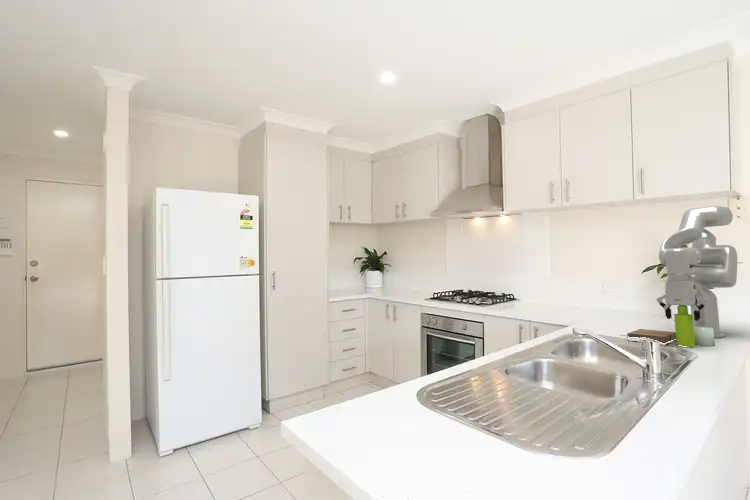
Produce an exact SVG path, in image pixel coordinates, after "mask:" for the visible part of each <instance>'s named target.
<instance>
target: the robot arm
mask: <svg viewBox="0 0 750 500" xmlns="http://www.w3.org/2000/svg"><path fill="white" fill-rule="evenodd" d="M733 216H734V215H733V212H732V210H731V209H730V208H729V207H727V206H722V205H710V206H701V207H695V208H690V209H688V210H686V211H684V213H683V215H682V218H681V221H680V225H679V227H678V230H676V231H675V232H674V233H672V234H670V236H668V237H666V239H664V240H663V241H662V243H661V245H660V249H659V253H658V259H659V262H660V264H661V265H663V266H666V273H667V281H666V282H665V289H664V295H662V296H660V297H657V298H656V301H657V302H658V304H659V306H660V307H662V308H663V310H664V312H665V317H666V319H668V320H670V319H672V309H671V307H672V306H679V305H685V306H690V314H691V315H692V317H693V327H694V326H702V327H711V328H713V331H714V339H716V338H718V339H720V338H725V337H726V333H724V332H722V331H721V327H720V319H719V317H720V316H719V308H718V307H719V306H718V298H717V295H716V294H715V293H714V292H713V291H712V290H711V288H716V289H717V288H719V289H720V288H726V289H727V288H728V289H729V288H733V287H734V286H736V284H737V279H738V251H737V250H736V248H735V247H734V246H732V245H730V244H720V245H719V244H718V245H716V244H717V237H716V236H715V235H714V234H713V233H712V232H711V231H710V230H708V229H706V228H712V227H722V226H728V225H730V224H731V223H732V221H733V218H734V217H733ZM691 243H692V245H691V247H688V246H687V247H684V246H686V245H689V244H691ZM693 265H694V266H693ZM691 266H693V267H691ZM664 299H665V300H664ZM674 299H681V301H674ZM663 301H665V302H663Z"/></svg>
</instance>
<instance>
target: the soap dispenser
mask: <svg viewBox="0 0 750 500" xmlns="http://www.w3.org/2000/svg"><path fill="white" fill-rule="evenodd" d="M674 301H681V299H674ZM676 309H677V313H674V316H673V317H674V327H675V332H676V345H677V344H678V345H682V346H687V347H694V348H695V347H696V345H695V340H694V329H693V317H692V315H691V313H689V307H688V306H685V305H676Z"/></svg>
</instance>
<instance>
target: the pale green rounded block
mask: <svg viewBox="0 0 750 500" xmlns="http://www.w3.org/2000/svg"><path fill="white" fill-rule="evenodd" d="M693 329H694V340H695V346H697V345H699V346H698V347H715V345H716V344H715V338H714V331H713V328H711V327H702V326H694V327H693Z"/></svg>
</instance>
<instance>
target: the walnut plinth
mask: <svg viewBox="0 0 750 500" xmlns="http://www.w3.org/2000/svg"><path fill="white" fill-rule="evenodd" d="M628 336H629V337H639V338H640V337H646V338H650V339H653V340H657V341H659V342H662V343H666V342H668V341H671V340H674V339H676V331H665V330H658V329H655V330H654V329H644V328H643V329H642V328H639V329H636V330H633V331H630V332H628V333H627V337H628Z"/></svg>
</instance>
